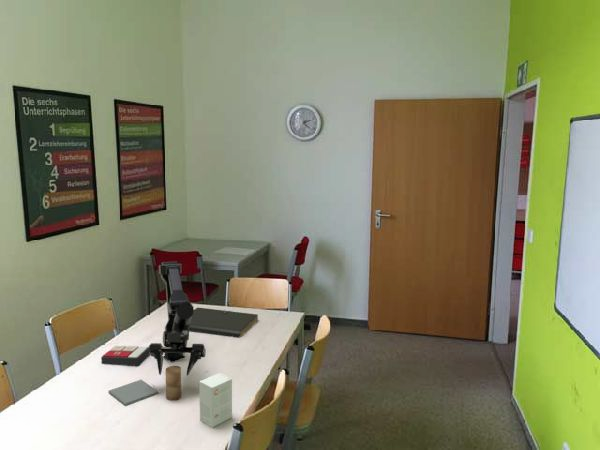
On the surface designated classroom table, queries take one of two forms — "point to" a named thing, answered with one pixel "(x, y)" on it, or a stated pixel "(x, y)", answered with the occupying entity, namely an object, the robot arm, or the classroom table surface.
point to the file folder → (221, 322)
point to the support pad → (133, 392)
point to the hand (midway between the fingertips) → (173, 374)
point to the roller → (173, 383)
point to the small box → (215, 399)
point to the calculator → (126, 355)
